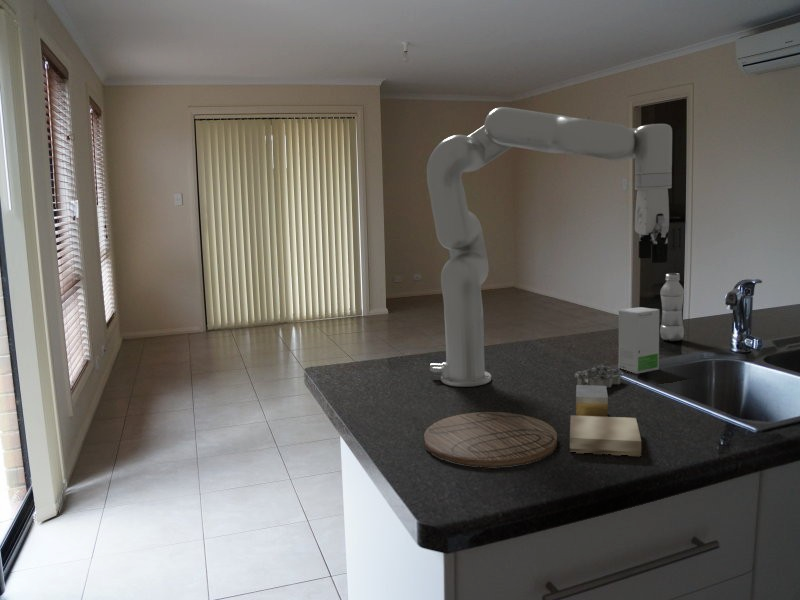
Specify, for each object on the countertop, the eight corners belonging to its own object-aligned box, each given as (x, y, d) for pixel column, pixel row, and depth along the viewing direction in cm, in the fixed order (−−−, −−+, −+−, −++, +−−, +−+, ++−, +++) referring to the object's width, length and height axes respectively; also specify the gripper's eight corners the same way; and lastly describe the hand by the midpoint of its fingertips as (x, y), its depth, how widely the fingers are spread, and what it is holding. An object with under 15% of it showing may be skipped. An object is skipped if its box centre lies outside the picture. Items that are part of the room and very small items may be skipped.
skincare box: (636, 374, 164) (636, 313, 162) (616, 369, 170) (616, 309, 168) (660, 369, 168) (661, 308, 166) (639, 364, 174) (640, 305, 171)
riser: (569, 453, 118) (569, 437, 118) (570, 430, 130) (570, 415, 129) (641, 457, 115) (641, 441, 114) (635, 432, 126) (635, 417, 126)
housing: (576, 425, 132) (576, 396, 131) (576, 412, 140) (576, 384, 139) (607, 427, 131) (607, 397, 130) (606, 413, 138) (606, 385, 137)
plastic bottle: (687, 342, 194) (689, 274, 191) (664, 343, 194) (665, 275, 191) (678, 337, 200) (680, 272, 197) (656, 338, 201) (657, 273, 197)
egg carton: (596, 393, 152) (596, 376, 152) (571, 386, 159) (571, 369, 158) (626, 384, 158) (626, 367, 157) (601, 377, 164) (601, 361, 164)
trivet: (403, 435, 132) (402, 426, 132) (509, 413, 142) (509, 404, 142) (465, 482, 110) (464, 471, 109) (586, 452, 120) (586, 442, 119)
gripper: (625, 183, 154) (625, 257, 157) (647, 183, 137) (646, 265, 140) (658, 182, 153) (657, 255, 156) (684, 181, 136) (683, 263, 139)
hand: (652, 260), depth 148 cm, fingers open, 9 cm apart
